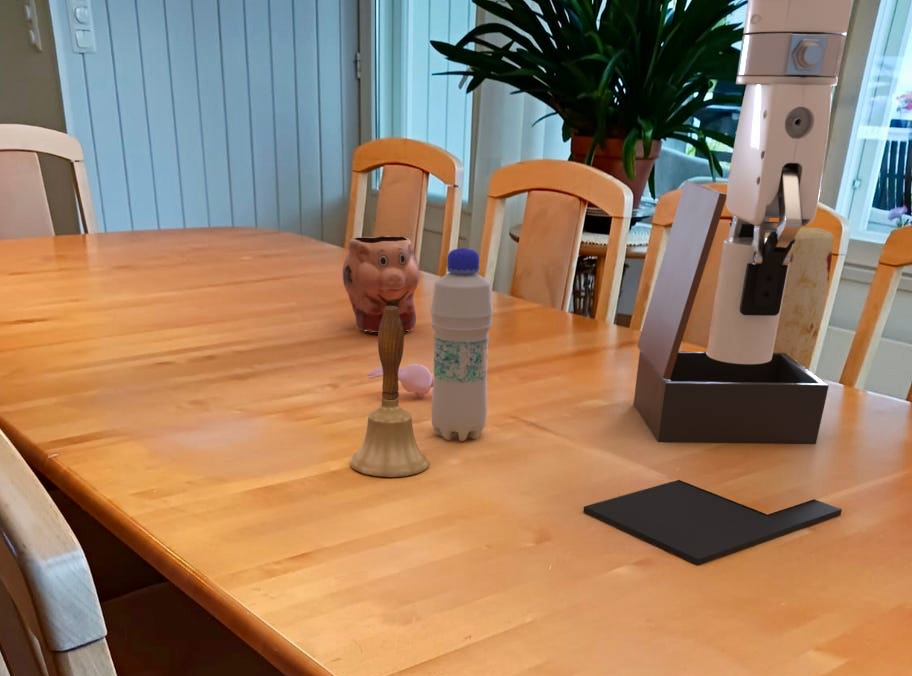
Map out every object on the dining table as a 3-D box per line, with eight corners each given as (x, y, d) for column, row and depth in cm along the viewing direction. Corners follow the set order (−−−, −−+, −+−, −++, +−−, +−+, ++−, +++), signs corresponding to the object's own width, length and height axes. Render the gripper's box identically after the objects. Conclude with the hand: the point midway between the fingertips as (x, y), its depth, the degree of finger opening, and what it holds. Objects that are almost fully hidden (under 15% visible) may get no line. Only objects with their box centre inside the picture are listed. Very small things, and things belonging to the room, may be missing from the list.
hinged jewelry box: (773, 412, 121) (785, 352, 117) (814, 450, 108) (828, 385, 104) (632, 410, 120) (639, 350, 117) (656, 448, 108) (665, 383, 104)
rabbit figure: (473, 397, 129) (362, 383, 125) (482, 352, 126) (369, 336, 123) (484, 410, 124) (369, 396, 120) (494, 364, 121) (376, 347, 117)
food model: (742, 393, 128) (771, 229, 118) (726, 379, 134) (752, 222, 124) (814, 393, 128) (849, 230, 118) (796, 379, 134) (827, 223, 124)
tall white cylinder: (734, 346, 89) (752, 235, 85) (785, 359, 85) (807, 243, 81) (692, 354, 86) (709, 239, 82) (743, 367, 82) (763, 248, 78)
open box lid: (692, 181, 108) (685, 180, 107) (727, 194, 95) (719, 193, 95) (643, 347, 117) (636, 346, 116) (669, 379, 104) (662, 378, 104)
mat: (723, 471, 101) (724, 466, 101) (840, 515, 92) (842, 509, 91) (582, 512, 91) (583, 506, 91) (697, 565, 81) (698, 559, 81)
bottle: (493, 443, 109) (502, 252, 99) (434, 445, 108) (437, 253, 98) (481, 424, 114) (488, 243, 104) (424, 427, 113) (426, 243, 103)
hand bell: (413, 448, 107) (414, 296, 99) (440, 473, 100) (443, 312, 92) (340, 455, 104) (335, 301, 96) (363, 481, 97) (359, 317, 90)
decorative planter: (328, 317, 165) (325, 229, 158) (395, 313, 169) (395, 227, 162) (365, 343, 149) (363, 246, 142) (439, 337, 153) (440, 243, 146)
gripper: (882, 62, 67) (826, 329, 76) (800, 66, 82) (761, 289, 91) (775, 60, 67) (731, 328, 76) (712, 64, 82) (681, 288, 91)
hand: (748, 304), depth 84 cm, fingers closed on tall white cylinder, 5 cm apart
